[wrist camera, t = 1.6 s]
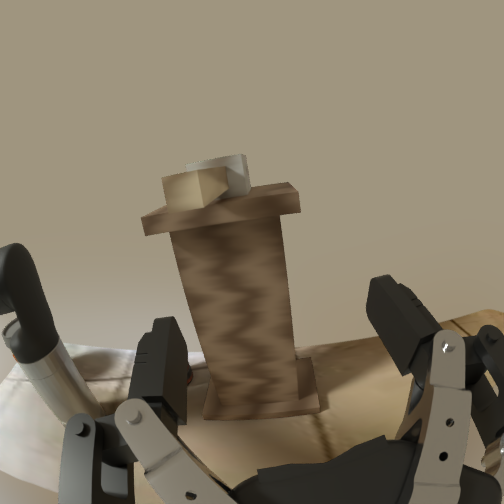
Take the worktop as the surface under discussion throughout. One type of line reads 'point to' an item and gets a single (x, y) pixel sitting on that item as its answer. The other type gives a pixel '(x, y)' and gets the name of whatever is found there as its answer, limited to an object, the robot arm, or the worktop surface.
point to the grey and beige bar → (207, 183)
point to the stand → (242, 302)
